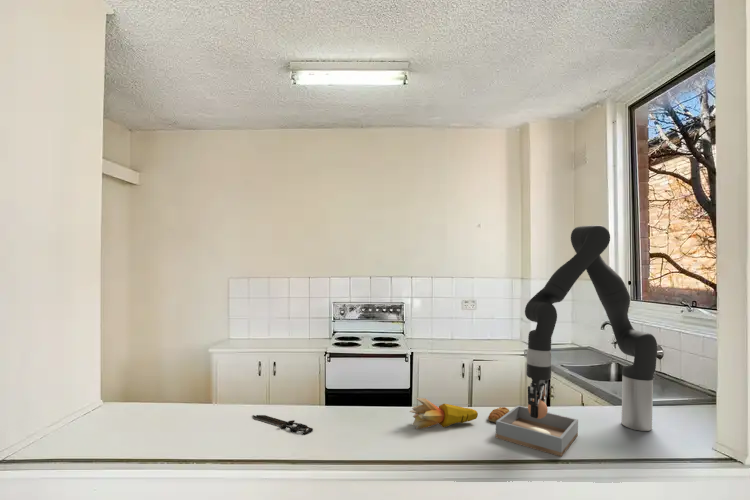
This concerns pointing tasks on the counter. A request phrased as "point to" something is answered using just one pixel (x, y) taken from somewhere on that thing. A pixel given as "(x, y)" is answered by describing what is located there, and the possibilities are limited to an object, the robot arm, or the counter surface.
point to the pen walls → (535, 437)
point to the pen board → (539, 428)
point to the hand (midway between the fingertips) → (537, 414)
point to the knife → (283, 424)
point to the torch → (440, 414)
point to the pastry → (497, 414)
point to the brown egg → (540, 409)
